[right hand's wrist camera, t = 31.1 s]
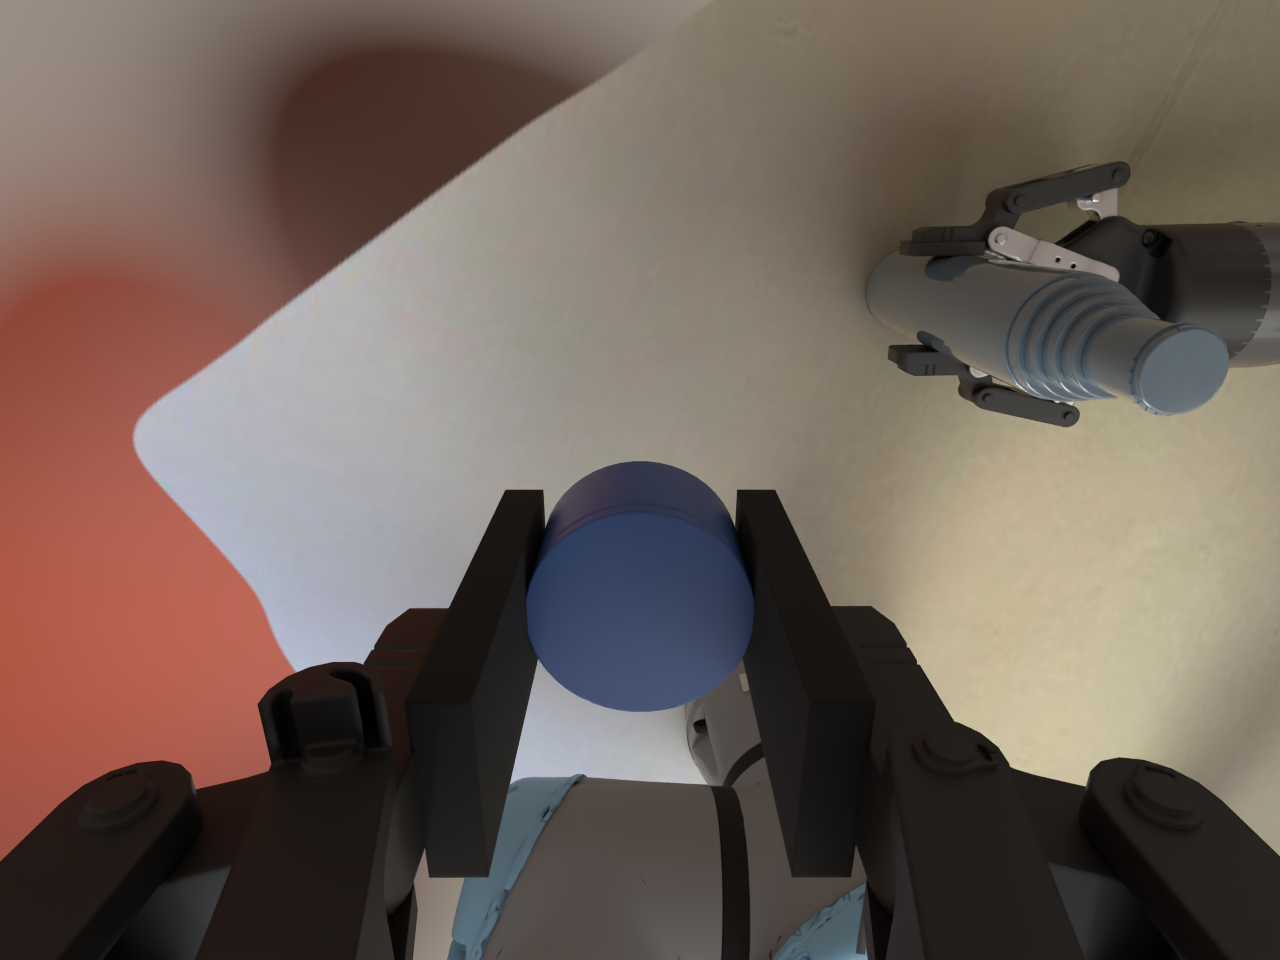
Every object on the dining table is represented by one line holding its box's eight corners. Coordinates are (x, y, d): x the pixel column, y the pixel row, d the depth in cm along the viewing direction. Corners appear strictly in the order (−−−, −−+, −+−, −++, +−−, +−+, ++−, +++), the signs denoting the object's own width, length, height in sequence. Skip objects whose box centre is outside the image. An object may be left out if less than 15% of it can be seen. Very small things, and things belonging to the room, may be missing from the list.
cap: (720, 442, 14) (737, 491, 11) (749, 616, 15) (770, 693, 13) (521, 480, 14) (496, 536, 12) (568, 647, 15) (555, 728, 13)
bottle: (946, 321, 45) (1258, 435, 22) (868, 335, 45) (1097, 462, 23) (944, 240, 43) (1279, 274, 21) (863, 256, 44) (1105, 306, 21)
